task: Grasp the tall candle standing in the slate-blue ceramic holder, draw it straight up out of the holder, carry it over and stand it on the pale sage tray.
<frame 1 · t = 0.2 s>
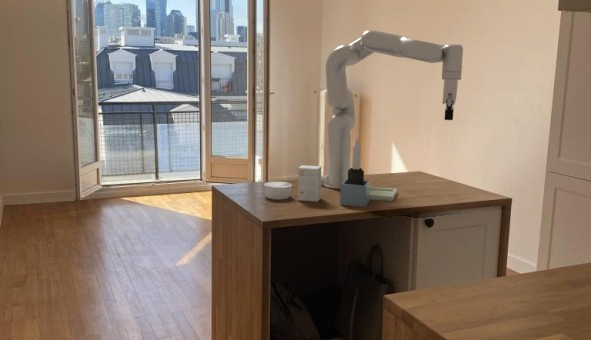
hand: (448, 118, 243), 31 cm above the worktop, tool pointing down, fingers open, 9 cm apart
ramekin: (277, 197, 239), on the worktop
holder: (354, 202, 231), on the worktop
tray: (375, 195, 243), on the worktop
small box: (309, 200, 235), on the worktop
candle: (354, 203, 231), resting in holder
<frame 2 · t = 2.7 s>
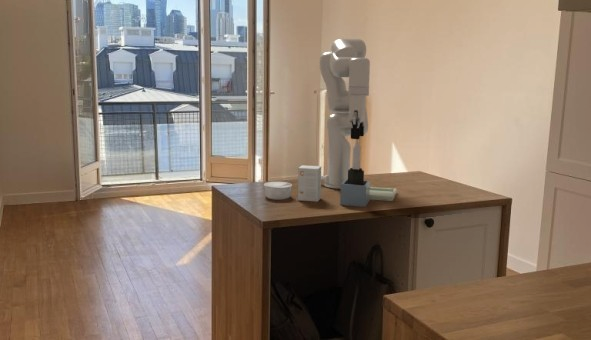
hand: (357, 137, 226), 25 cm above the worktop, tool pointing down, fingers open, 9 cm apart
nothing on the worktop moved.
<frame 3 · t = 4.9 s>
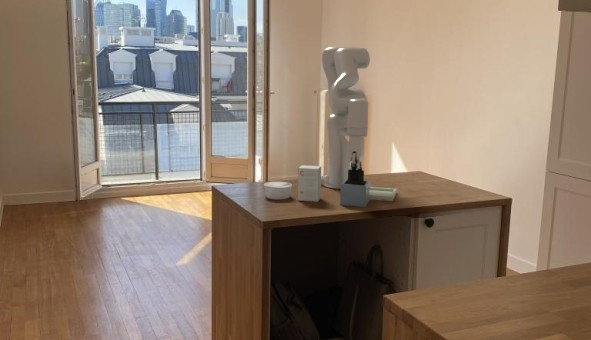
hand: (355, 178, 229), 10 cm above the worktop, tool pointing down, fingers closed on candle, 6 cm apart
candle: (354, 203, 231), resting in holder, touching gripper
everything else where it was.
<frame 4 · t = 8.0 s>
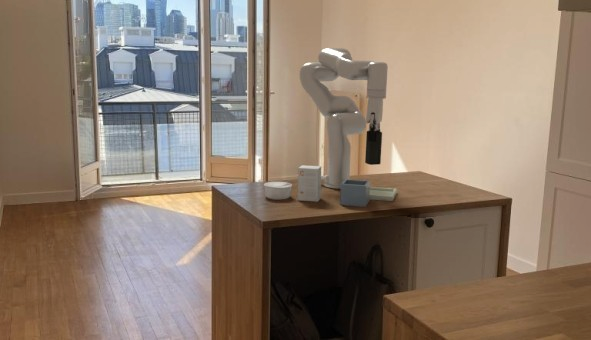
hand: (373, 139, 237), 23 cm above the worktop, tool pointing down, fingers closed on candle, 6 cm apart
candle: (372, 163, 239), point 13 cm above the worktop, touching gripper
everything else where it was.
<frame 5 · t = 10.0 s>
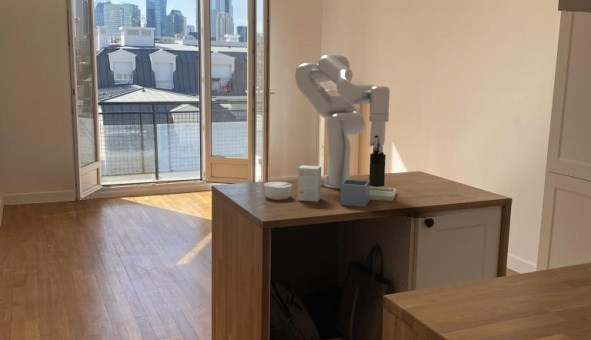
hand: (377, 162, 241), 14 cm above the worktop, tool pointing down, fingers closed on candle, 6 cm apart
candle: (376, 185, 242), point 4 cm above the worktop, touching gripper
everything else where it was.
when the fingers open (11 cm above the worktop, at t = 11.4 s): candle stays where it is, resting on tray.
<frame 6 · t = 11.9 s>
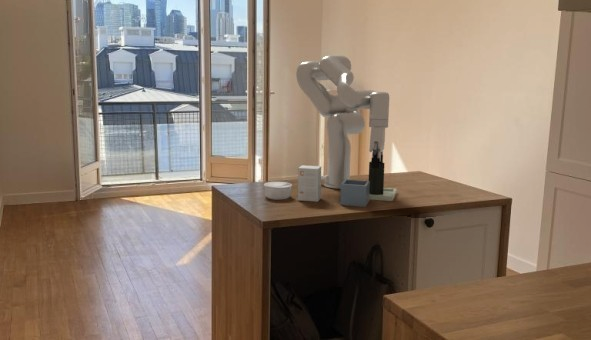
hand: (377, 165, 241), 12 cm above the worktop, tool pointing down, fingers open, 9 cm apart
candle: (375, 193, 243), point 1 cm above the worktop, touching tray
everything else where it was.
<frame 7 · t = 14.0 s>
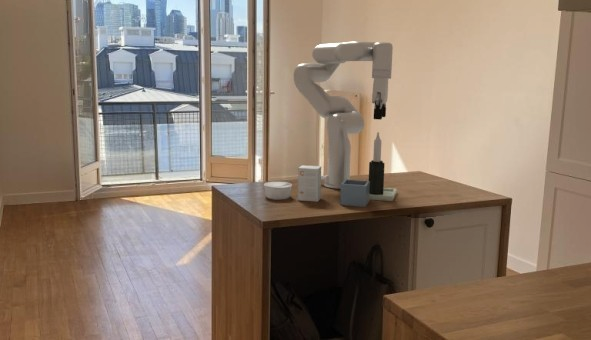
hand: (379, 118, 239), 31 cm above the worktop, tool pointing down, fingers open, 9 cm apart
nothing on the worktop moved.
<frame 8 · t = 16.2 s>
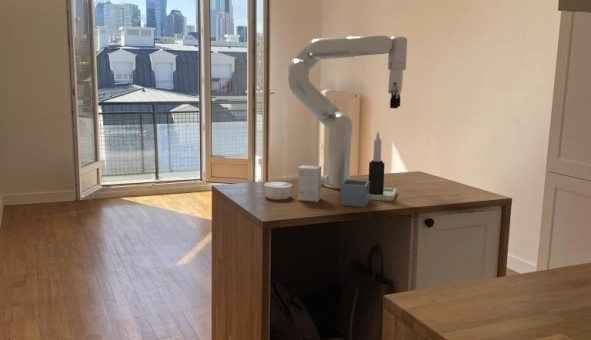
hand: (395, 107, 256), 34 cm above the worktop, tool pointing down, fingers open, 9 cm apart
nothing on the worktop moved.
at the end: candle inside the target area on the tray (0.1 cm from its centre), point 0.6 cm above the tray's base; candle tilted 0°; the gripper is holding nothing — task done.
